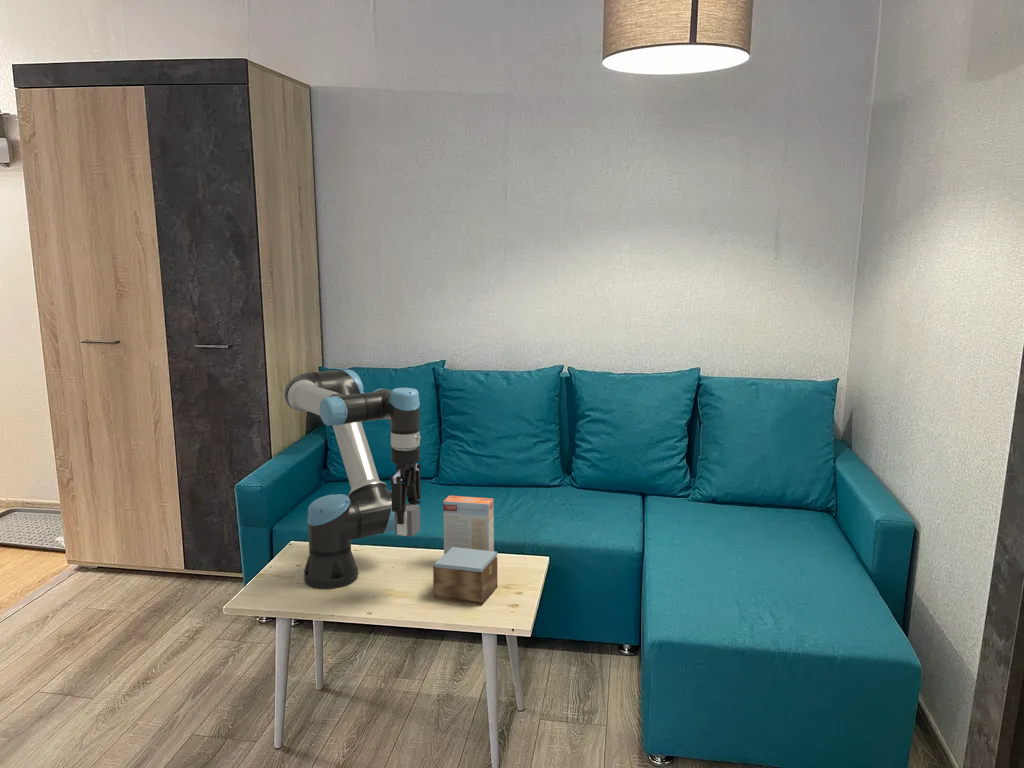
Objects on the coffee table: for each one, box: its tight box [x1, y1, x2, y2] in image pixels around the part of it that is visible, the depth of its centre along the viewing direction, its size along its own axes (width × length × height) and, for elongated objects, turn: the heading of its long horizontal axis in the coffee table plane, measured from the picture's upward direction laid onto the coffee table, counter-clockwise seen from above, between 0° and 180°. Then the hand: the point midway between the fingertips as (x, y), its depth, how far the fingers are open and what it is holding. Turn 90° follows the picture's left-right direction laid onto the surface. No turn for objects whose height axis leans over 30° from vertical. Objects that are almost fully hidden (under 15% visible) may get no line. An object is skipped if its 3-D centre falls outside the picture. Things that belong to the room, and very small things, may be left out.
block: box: [394, 503, 421, 537], centre depth 214 cm, size 5×5×7 cm
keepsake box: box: [432, 556, 498, 607], centre depth 219 cm, size 14×12×9 cm
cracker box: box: [442, 495, 495, 555], centre depth 235 cm, size 14×6×21 cm, turn 77°
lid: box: [433, 547, 498, 572], centre depth 218 cm, size 13×12×1 cm
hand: (407, 530), depth 214 cm, fingers closed on block, 5 cm apart
